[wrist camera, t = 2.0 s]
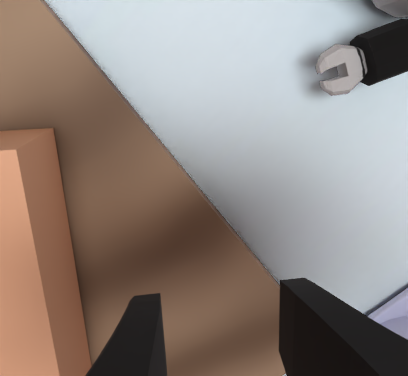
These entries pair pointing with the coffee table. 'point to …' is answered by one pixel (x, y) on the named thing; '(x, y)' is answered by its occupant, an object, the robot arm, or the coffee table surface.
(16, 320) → the tong arm
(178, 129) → the coffee table surface
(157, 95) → the coffee table surface
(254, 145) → the coffee table surface
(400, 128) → the coffee table surface
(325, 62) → the robot toy
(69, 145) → the tong board
